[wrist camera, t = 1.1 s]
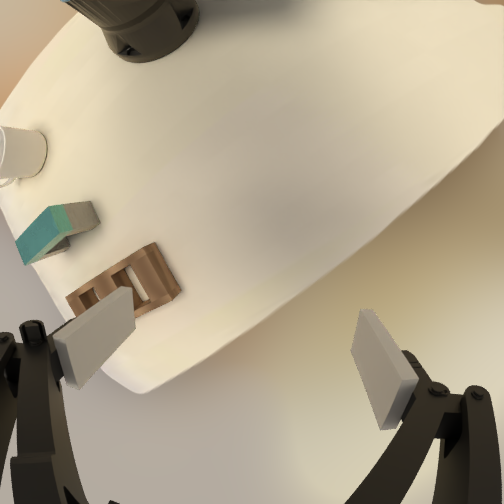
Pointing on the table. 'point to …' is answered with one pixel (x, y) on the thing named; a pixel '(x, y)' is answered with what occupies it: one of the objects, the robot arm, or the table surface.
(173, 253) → the table surface
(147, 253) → the brown wooden frame
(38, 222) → the tall teal block
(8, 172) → the mug
